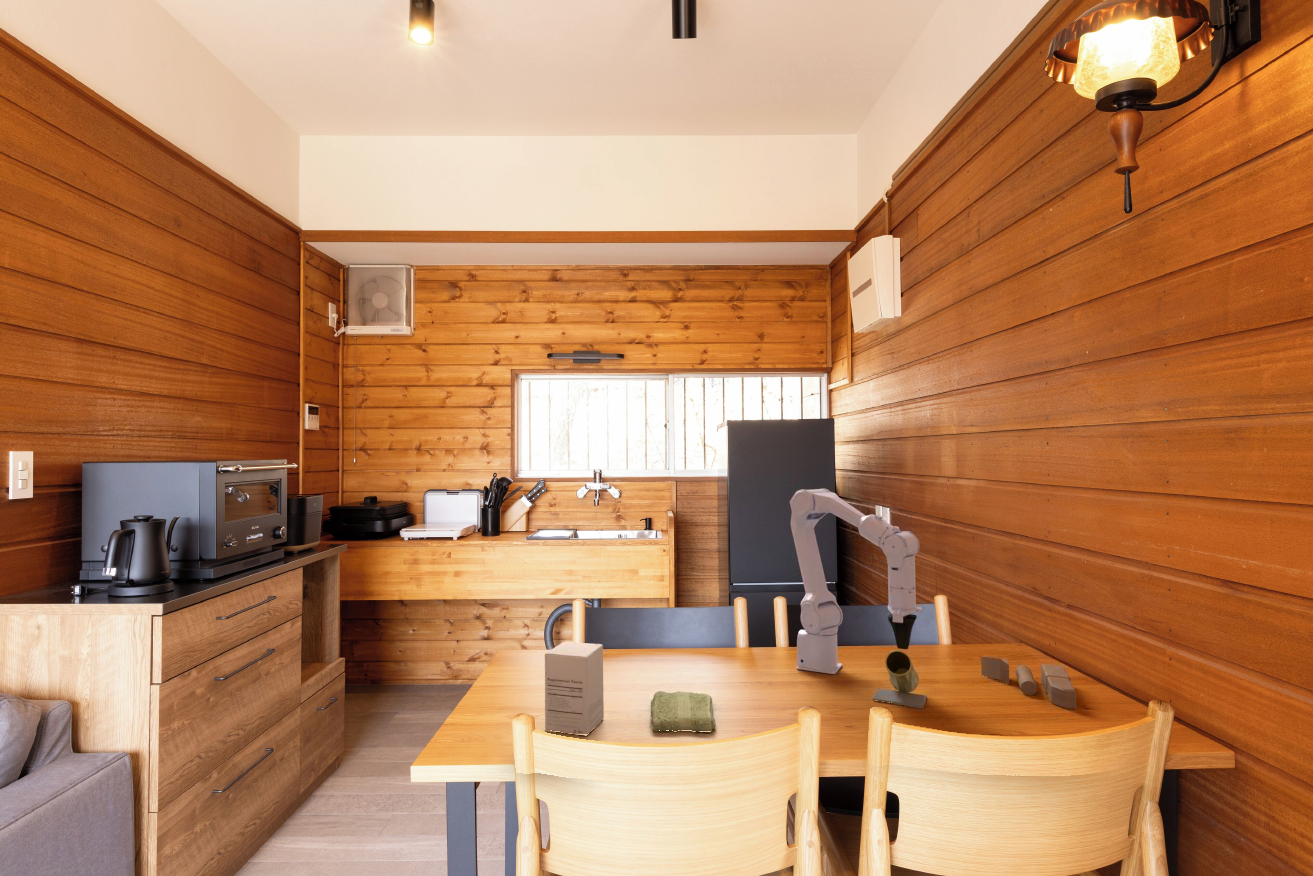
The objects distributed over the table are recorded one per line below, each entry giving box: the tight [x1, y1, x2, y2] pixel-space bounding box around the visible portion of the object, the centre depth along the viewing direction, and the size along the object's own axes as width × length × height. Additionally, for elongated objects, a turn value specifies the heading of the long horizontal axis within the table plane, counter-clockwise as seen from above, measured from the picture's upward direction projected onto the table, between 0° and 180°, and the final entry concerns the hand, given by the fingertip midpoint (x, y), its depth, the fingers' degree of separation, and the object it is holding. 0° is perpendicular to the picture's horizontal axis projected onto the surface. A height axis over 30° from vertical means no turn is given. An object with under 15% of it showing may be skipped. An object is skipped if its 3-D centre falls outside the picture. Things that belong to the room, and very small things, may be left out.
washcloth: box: [650, 690, 717, 732], centre depth 133 cm, size 13×18×3 cm
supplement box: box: [544, 641, 605, 735], centre depth 128 cm, size 9×9×15 cm
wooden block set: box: [980, 656, 1077, 711], centre depth 146 cm, size 17×6×18 cm
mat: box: [872, 688, 928, 710], centre depth 141 cm, size 10×7×1 cm
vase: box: [884, 649, 920, 693], centre depth 141 cm, size 6×6×14 cm
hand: (903, 648), depth 146 cm, fingers closed
